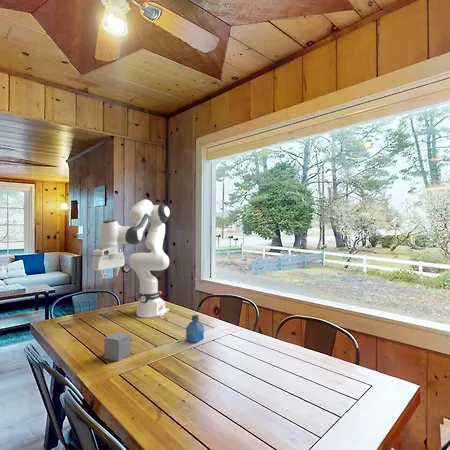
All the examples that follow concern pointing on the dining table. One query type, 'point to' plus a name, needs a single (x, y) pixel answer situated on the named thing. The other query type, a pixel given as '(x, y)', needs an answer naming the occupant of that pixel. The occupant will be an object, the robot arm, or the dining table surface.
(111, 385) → the dining table surface
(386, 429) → the dining table surface
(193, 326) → the perfume bottle
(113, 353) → the gray cuboid
